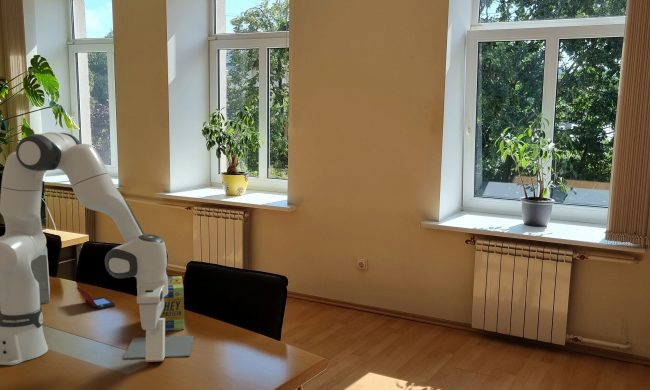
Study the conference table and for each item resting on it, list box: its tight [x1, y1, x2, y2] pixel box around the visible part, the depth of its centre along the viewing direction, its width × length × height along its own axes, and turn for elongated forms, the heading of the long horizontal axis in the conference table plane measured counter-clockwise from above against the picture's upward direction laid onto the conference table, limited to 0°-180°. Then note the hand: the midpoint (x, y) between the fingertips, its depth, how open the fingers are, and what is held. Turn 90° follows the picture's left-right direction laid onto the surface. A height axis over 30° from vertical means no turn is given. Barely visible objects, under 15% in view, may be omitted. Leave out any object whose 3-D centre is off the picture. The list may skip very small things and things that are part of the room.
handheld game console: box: [76, 286, 116, 311], centre depth 232 cm, size 12×11×7 cm
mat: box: [123, 335, 195, 360], centre depth 193 cm, size 20×16×1 cm
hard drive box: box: [31, 245, 51, 305], centre depth 238 cm, size 16×8×20 cm, turn 25°
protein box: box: [160, 275, 185, 332], centre depth 213 cm, size 10×15×16 cm
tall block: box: [144, 318, 166, 363], centre depth 183 cm, size 5×5×12 cm
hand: (154, 333), depth 179 cm, fingers closed
